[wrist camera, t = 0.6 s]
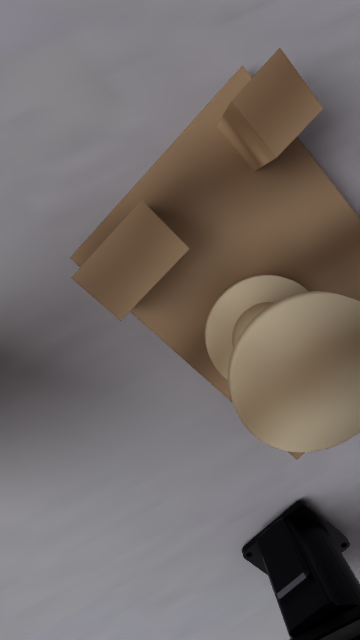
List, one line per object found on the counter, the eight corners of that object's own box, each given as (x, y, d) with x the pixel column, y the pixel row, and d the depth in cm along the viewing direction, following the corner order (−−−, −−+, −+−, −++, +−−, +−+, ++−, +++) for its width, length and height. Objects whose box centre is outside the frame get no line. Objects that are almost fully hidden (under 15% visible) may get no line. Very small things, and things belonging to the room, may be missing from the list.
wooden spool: (337, 328, 19) (428, 373, 13) (256, 403, 20) (304, 479, 14) (265, 248, 18) (330, 255, 11) (180, 334, 19) (196, 385, 12)
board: (431, 325, 21) (494, 345, 17) (290, 450, 23) (319, 493, 19) (237, 75, 16) (264, 25, 12) (74, 256, 18) (53, 262, 14)
